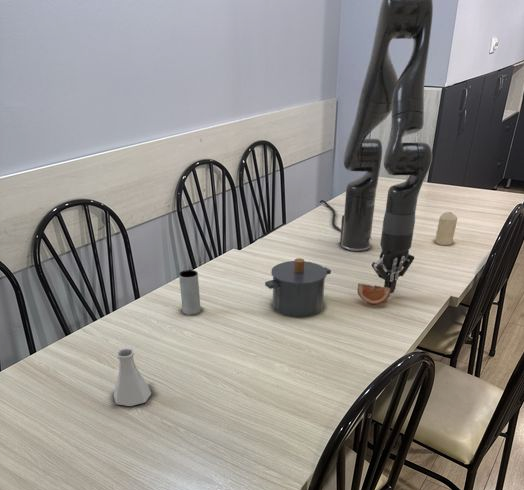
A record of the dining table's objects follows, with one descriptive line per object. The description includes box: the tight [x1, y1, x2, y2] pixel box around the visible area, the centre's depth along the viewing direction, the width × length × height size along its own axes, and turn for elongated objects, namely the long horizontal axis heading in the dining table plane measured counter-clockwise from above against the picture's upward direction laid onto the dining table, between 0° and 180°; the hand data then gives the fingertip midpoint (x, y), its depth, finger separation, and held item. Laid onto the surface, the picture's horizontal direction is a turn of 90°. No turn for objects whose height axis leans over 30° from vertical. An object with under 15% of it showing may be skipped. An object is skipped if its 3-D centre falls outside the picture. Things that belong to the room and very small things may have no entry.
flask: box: [113, 347, 152, 407], centre depth 95 cm, size 7×7×10 cm
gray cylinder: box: [178, 269, 201, 316], centre depth 125 cm, size 4×4×10 cm
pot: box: [264, 266, 332, 318], centre depth 128 cm, size 13×18×9 cm
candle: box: [435, 211, 458, 246], centre depth 167 cm, size 6×6×10 cm
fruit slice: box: [356, 283, 391, 306], centre depth 131 cm, size 8×7×5 cm
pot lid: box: [270, 257, 328, 285], centre depth 125 cm, size 14×14×4 cm
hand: (388, 292), depth 133 cm, fingers closed
